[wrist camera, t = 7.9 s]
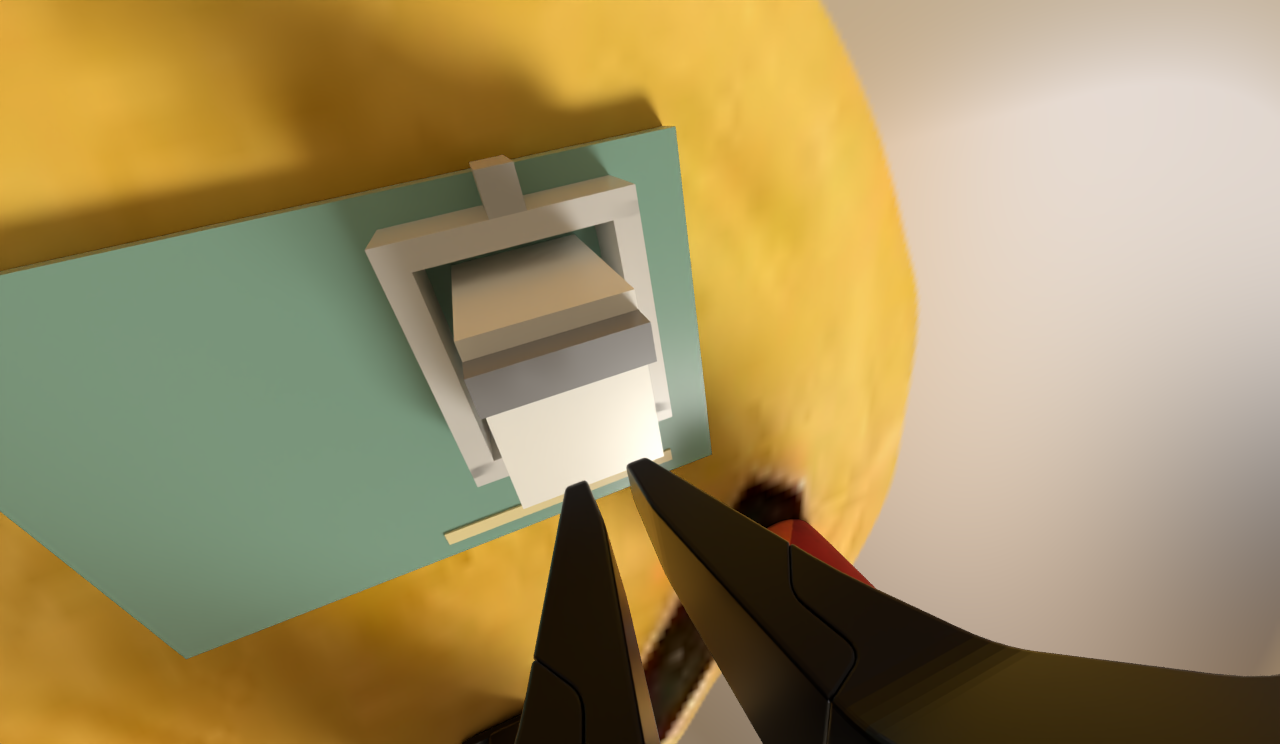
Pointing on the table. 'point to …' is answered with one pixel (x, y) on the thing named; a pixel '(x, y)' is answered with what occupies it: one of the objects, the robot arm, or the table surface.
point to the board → (310, 386)
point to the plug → (556, 364)
